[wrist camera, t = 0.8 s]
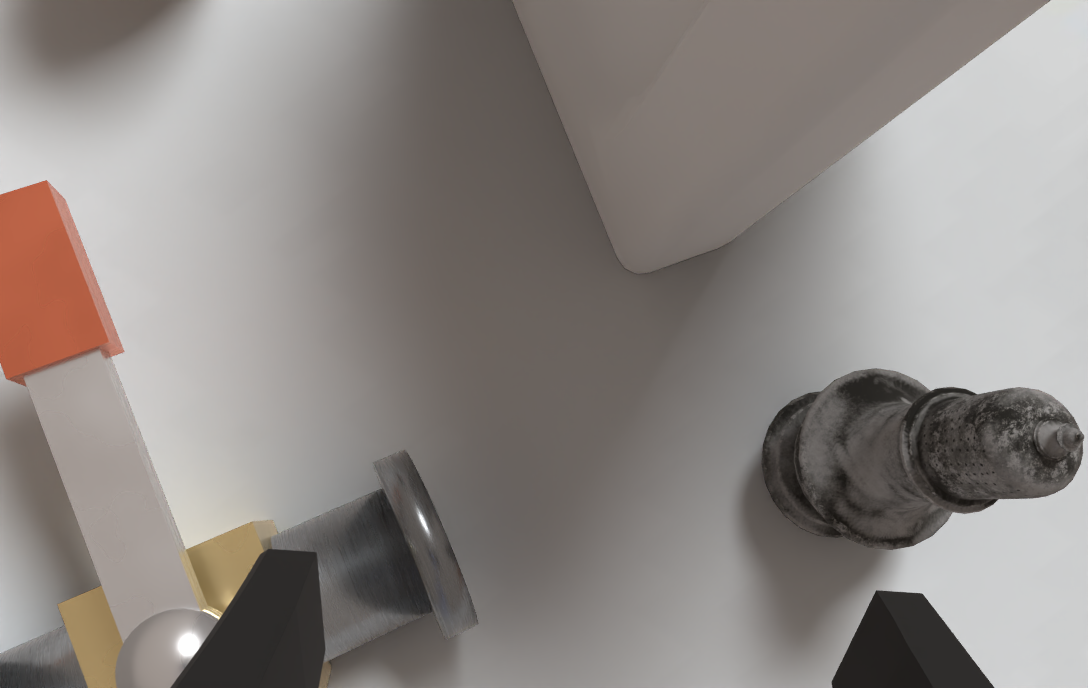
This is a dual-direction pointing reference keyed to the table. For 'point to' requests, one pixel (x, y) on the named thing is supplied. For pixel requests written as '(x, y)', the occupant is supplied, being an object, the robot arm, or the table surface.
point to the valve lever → (96, 436)
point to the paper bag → (735, 99)
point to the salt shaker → (912, 455)
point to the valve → (344, 574)
